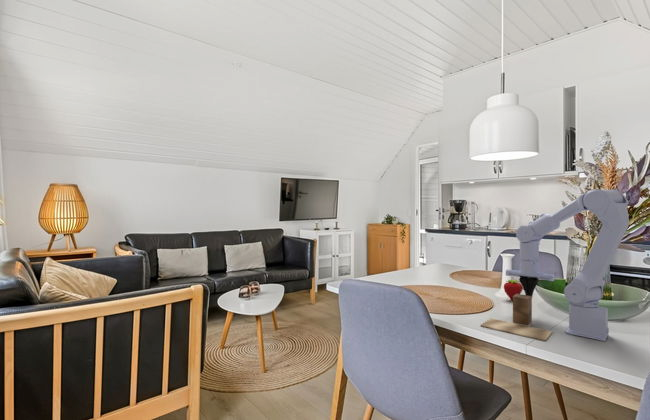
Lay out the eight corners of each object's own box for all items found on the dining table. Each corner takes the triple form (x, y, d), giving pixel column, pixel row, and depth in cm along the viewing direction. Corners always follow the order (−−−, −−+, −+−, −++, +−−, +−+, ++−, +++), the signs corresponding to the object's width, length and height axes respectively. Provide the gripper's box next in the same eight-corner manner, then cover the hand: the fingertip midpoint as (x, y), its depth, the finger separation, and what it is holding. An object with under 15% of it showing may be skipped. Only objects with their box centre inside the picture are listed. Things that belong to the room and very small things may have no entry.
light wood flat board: (552, 332, 104) (552, 331, 104) (545, 341, 97) (545, 340, 97) (490, 319, 117) (490, 318, 117) (480, 326, 110) (480, 325, 110)
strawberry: (526, 301, 137) (526, 277, 137) (510, 303, 136) (510, 278, 136) (515, 298, 143) (515, 274, 143) (499, 299, 142) (500, 275, 141)
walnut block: (531, 323, 113) (531, 296, 113) (528, 326, 110) (528, 298, 109) (516, 320, 116) (516, 293, 116) (512, 323, 113) (512, 296, 113)
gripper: (556, 260, 117) (556, 300, 117) (509, 256, 127) (509, 292, 127) (551, 263, 112) (551, 304, 112) (503, 258, 122) (503, 296, 122)
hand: (529, 298), depth 119 cm, fingers closed
